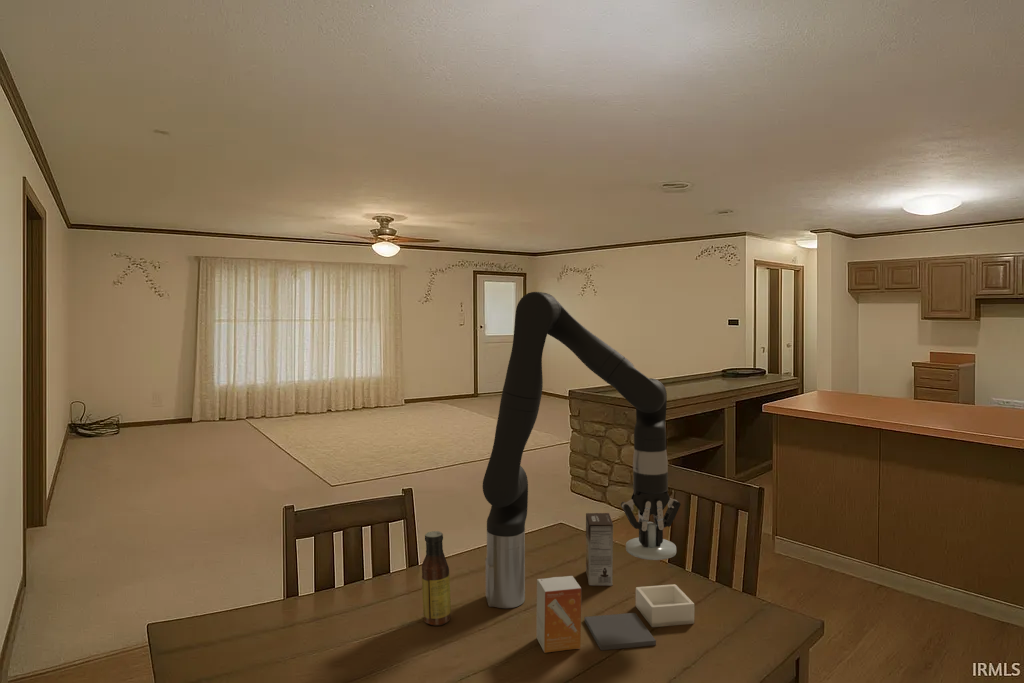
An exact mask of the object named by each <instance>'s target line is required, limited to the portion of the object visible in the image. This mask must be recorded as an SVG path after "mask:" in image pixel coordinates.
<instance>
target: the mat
mask: <svg viewBox="0 0 1024 683" xmlns="http://www.w3.org/2000/svg"><path fill="white" fill-rule="evenodd" d="M584 623H585V624H586V627H587V629H588V630H589V632H590V634H591V636H592V637H593V640H594V641H595V642H596V644H597V647H598V648H599V650H600V651H608V650H618V649H620V650H621V649H629V648H631V649H632V648H639V647H649V646H656V645H657V640H656V638H655V637H654V636H653V635H652V633H651V632H650V630H649V629H648V628H647V627H646V626H645V623H643V621H642V619H641V618H640V617H639V615H638V614H637V613H636V612H628V613H627V612H626V613H625V612H624V613H617V614H616V613H615V614H614V613H613V614H603V615H601V614H600V615H593V616H584Z"/></svg>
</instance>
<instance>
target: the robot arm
mask: <svg viewBox="0 0 1024 683" xmlns="http://www.w3.org/2000/svg"><path fill="white" fill-rule="evenodd" d="M515 308H516V309H515V316H514V328H513V330H514V331H513V339H512V347H511V348H512V349H511V353H510V357H509V361H508V365H507V368H506V374H505V379H504V383H503V388H502V393H501V398H500V403H499V409H498V416H497V421H496V428H495V432H494V440H493V446H492V449H491V453H490V456H489V460H488V464H487V466H486V470H485V472H484V477H483V480H482V492H483V493H482V494H483V496H484V498H485V500H486V501H487V502H488V504H490V505H491V506H490V507H491V508H490V509H489V510H490V511H489V514H488V516H487V519H486V557H485V597H486V602H487V605H488V607H495V608H498V609H513V608H516V607H519V606H521V605H523V603H525V600H526V586H525V585H526V580H525V579H526V566H525V565H526V557H525V556H526V546H525V545H526V544H525V542H526V540H525V537H526V534H525V532H526V521H527V516H528V505H529V504H528V502H529V501H528V500H529V496H528V495H529V481H528V476H527V473H526V471H525V469H524V468H523V467H522V466H521V465H522V464H521V463H522V458H523V454H524V450H525V447H526V445H527V443H528V440H529V438H530V435H531V434H532V431H533V428H534V427H535V424H536V421H537V418H538V414H539V409H540V405H541V400H542V397H543V396H542V395H543V388H544V387H543V383H544V382H543V380H544V379H543V361H542V360H543V352H544V347H545V345H546V340H547V336H548V335H549V336H550V337H552V338H554V339H556V340H557V341H559V342H560V343H561V344H563V345H564V346H565V347H567V348H568V349H569V350H570V352H572V353H573V354H574V355H575V356H576V357H577V358H578V359H579V361H581V362H582V363H583V364H584V365H585V367H586V368H588V369H589V370H590V371H591V372H592V373H594V374H595V375H597V376H598V377H599V378H600V379H602V380H603V382H606V383H607V384H608V385H609V386H611V387H613V389H615V390H616V391H617V392H618V393H619V395H621V396H622V397H623V398H624V399H625V400H626V401H627V402H628V403H629V404H630V405H631V406H633V407H634V408H635V416H636V417H635V418H636V419H635V420H636V421H635V425H634V429H633V454H632V456H633V457H632V474H633V475H632V478H633V479H632V480H633V481H632V485H633V490H632V491H633V493H632V495H631V498H630V499H629V500H628V501H626V502H625V501H622V502H621V503H620V506H621V508H622V510H623V512H624V514H625V516H626V517H627V519H628V521H629V523H630V525H631V526H632V527H633V529H635V530H638V537H639V542H640V543H641V544H642V545H643V547H648V531H647V524H648V522H650V521H649V520H650V516H651V515H652V516H653V521H654V523H656V546H660V545H661V543H662V542H663V539H664V533H663V531H664V529H665V528H666V527H667V528H670V527H671V526H672V525H673V522H674V520H675V518H676V516H677V513H678V512H679V509H680V507H681V506H682V505H681V502H679V501H678V499H675V498H671V496H670V495H669V492H668V489H669V482H668V481H669V475H668V474H669V473H668V469H669V468H668V467H669V466H668V465H669V464H668V453H667V429H666V417H667V404H668V403H667V402H668V394H667V389H666V387H665V385H664V384H663V383H662V382H661V381H660V380H658V379H656V378H649V377H647V376H646V375H645V374H644V373H642V372H641V371H640V370H638V369H637V368H636V367H635V365H634V364H633V363H632V361H631V360H629V359H628V358H626V357H625V356H624V355H622V354H621V353H620V352H619V351H618V350H616V349H615V348H613V347H612V346H611V345H609V344H608V343H607V342H605V341H604V340H602V339H601V338H599V337H598V336H596V334H593V332H591V331H590V330H588V329H587V328H586V327H585V326H583V324H581V323H580V322H579V321H578V320H577V319H576V318H574V317H573V316H572V314H570V313H569V311H567V310H566V309H565V307H564V306H563V305H562V304H561V303H560V302H559V301H558V300H557V299H556V298H555V296H553V295H551V294H550V293H548V292H547V293H546V292H542V291H531V292H528V293H526V294H524V296H522V297H521V298H520V300H519V301H518V303H517V305H516V307H515ZM634 506H635V507H636V509H637V510H638V514H637V515H638V520H637V519H636V517H635V515H634V513H633V511H634V510H635V508H634ZM666 506H667V509H666V511H665V513H664V512H663V511H664V510H665V508H666Z"/></svg>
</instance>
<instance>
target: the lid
mask: <svg viewBox="0 0 1024 683" xmlns="http://www.w3.org/2000/svg"><path fill="white" fill-rule="evenodd" d="M647 531H648V547H643V545H642V544H641V543H640V542H639V536H638V537H634V538H631V539H629V540H627V541H626V543H625V550H626V552H627V553H628V554H629V555H631V556H632V557H635V558H638V559H643V560H647V561H648V560H649V561H661V560H662V561H663V560H667V559H670V558H671V559H672V558H673V557H675V556H676V554H677V546H676V544H675V543H674V542H672V541H671V540H667V539H665V538H663V542H662V543H661V545H660V546H656V523H654V522H653V521H648V524H647Z"/></svg>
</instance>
